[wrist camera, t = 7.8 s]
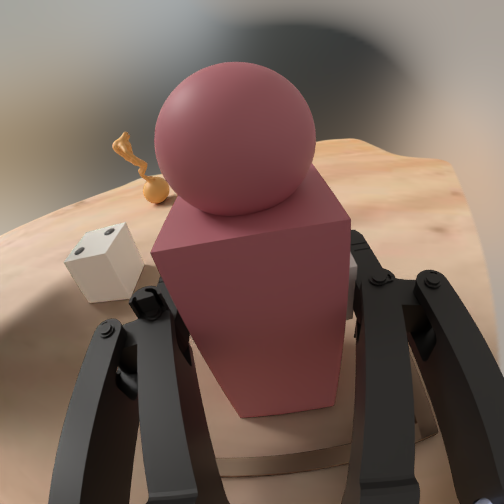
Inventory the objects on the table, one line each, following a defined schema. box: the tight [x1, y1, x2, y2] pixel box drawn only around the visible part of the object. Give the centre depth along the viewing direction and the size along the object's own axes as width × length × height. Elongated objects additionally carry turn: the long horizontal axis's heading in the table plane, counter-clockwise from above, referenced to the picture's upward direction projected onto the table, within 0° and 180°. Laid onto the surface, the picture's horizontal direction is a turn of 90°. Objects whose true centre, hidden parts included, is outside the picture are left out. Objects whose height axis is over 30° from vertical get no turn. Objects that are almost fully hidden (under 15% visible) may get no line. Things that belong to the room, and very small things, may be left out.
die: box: [64, 222, 145, 303], centre depth 24 cm, size 5×5×5 cm
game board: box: [215, 353, 438, 477], centre depth 24 cm, size 15×34×1 cm, turn 1°
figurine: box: [112, 132, 169, 203], centre depth 37 cm, size 8×6×12 cm
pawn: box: [150, 62, 351, 418], centre depth 11 cm, size 5×5×15 cm
